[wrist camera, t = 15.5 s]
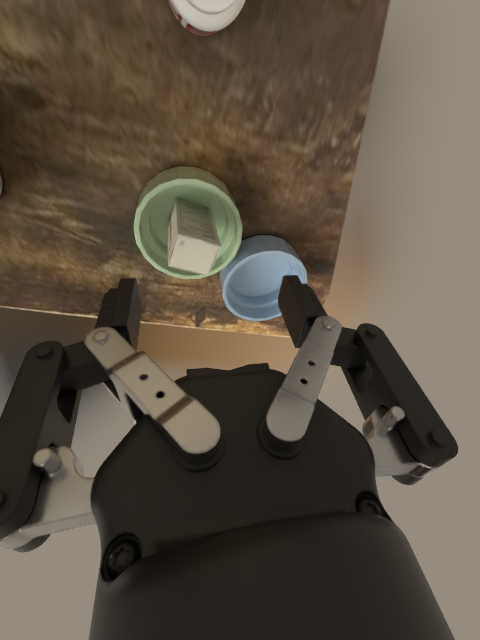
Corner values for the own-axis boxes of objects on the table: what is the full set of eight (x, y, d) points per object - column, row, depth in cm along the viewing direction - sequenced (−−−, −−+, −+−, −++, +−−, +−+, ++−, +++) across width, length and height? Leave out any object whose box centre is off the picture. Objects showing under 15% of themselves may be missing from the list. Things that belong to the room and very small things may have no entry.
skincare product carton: (166, 226, 39) (164, 266, 32) (175, 195, 36) (175, 231, 29) (202, 237, 41) (208, 278, 34) (213, 209, 38) (222, 246, 31)
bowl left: (146, 261, 42) (143, 280, 39) (129, 163, 33) (123, 177, 30) (233, 259, 44) (238, 277, 41) (239, 167, 36) (246, 180, 32)
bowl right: (218, 303, 50) (221, 323, 47) (220, 234, 41) (224, 251, 38) (288, 300, 52) (297, 318, 49) (305, 233, 44) (317, 250, 40)
